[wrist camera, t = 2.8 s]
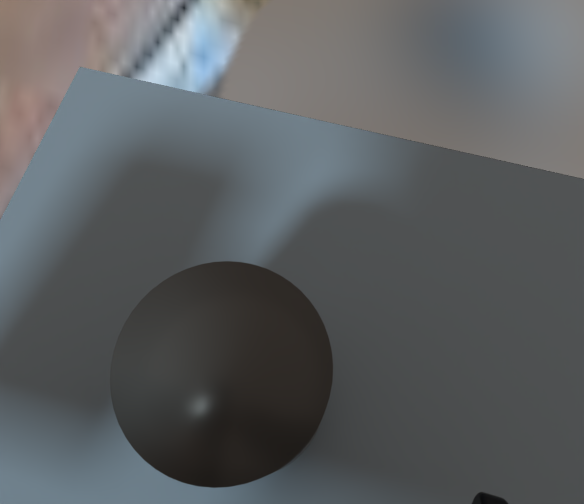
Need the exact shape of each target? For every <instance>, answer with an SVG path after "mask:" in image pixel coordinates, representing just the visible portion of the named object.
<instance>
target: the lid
mask: <svg viewBox="0 0 584 504" xmlns="http://www.w3.org/2000/svg"><path fill="white" fill-rule="evenodd" d="M479 492H485V493H488V494H491V495H495V496H498V497H501V498H503V499H505V500H506V501H507V502H508V504H584V179H582V178H577V177H572V176H568V175H563V174H559V173H555V172H550V171H546V170H541V169H537V168H532V167H528V166H523V165H519V164H514V163H510V162H505V161H501V160H496V159H491V158H487V157H482V156H478V155H474V154H469V153H464V152H460V151H456V150H451V149H447V148H442V147H437V146H433V145H429V144H424V143H419V142H415V141H411V140H406V139H401V138H397V137H393V136H388V135H384V134H379V133H374V132H370V131H366V130H361V129H357V128H352V127H348V126H343V125H339V124H334V123H329V122H325V121H321V120H316V119H311V118H307V117H303V116H298V115H294V114H289V113H285V112H280V111H276V110H272V109H267V108H262V107H258V106H254V105H249V104H244V103H240V102H235V101H231V100H227V99H222V98H218V97H213V96H209V95H204V94H200V93H195V92H191V91H186V90H182V89H177V88H173V87H168V86H164V85H159V84H155V83H150V82H146V81H141V80H137V79H132V78H128V77H123V76H119V75H114V74H110V73H105V72H101V71H96V70H92V69H87V68H83V67H80V68H79V70H78V71H77V73H76V75H75V77H74V79H73V81H72V83H71V85H70V87H69V89H68V91H67V93H66V95H65V97H64V98H63V100H62V102H61V104H60V106H59V108H58V110H57V112H56V114H55V116H54V118H53V120H52V122H51V123H50V125H49V127H48V129H47V131H46V133H45V135H44V137H43V139H42V141H41V143H40V145H39V147H38V149H37V150H36V152H35V154H34V156H33V158H32V160H31V162H30V164H29V166H28V168H27V170H26V172H25V174H24V176H23V177H22V179H21V181H20V183H19V185H18V187H17V189H16V191H15V193H14V195H13V197H12V199H11V201H10V202H9V204H8V206H7V208H6V210H5V212H4V214H3V216H2V218H1V220H0V504H472V502H473V499H474V497H475V496H476V495H477V494H478V493H479Z"/></svg>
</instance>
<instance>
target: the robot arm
mask: <svg viewBox="0 0 584 504" xmlns="http://www.w3.org/2000/svg"><path fill="white" fill-rule="evenodd" d="M472 504H508V502H507V501H506V500H505V499H503V498H501V497H498V496H495V495H491V494H488V493H485V492H479V493H478V494H477V495H476V496H475V497H474V499H473V502H472Z"/></svg>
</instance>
